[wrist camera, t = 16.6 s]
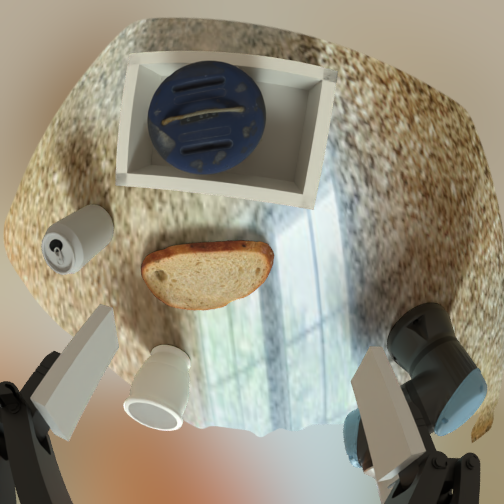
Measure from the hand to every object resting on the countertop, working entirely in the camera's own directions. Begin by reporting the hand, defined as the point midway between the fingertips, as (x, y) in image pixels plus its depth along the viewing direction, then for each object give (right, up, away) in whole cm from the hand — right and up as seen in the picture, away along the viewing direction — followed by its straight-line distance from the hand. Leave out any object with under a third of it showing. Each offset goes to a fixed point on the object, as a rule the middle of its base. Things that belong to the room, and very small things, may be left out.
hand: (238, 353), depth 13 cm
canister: (-3, +22, +21) cm, 30 cm away
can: (-25, +10, +28) cm, 39 cm away
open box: (-3, +22, +22) cm, 31 cm away
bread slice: (-7, +3, +31) cm, 32 cm away
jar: (-16, -17, +39) cm, 46 cm away
